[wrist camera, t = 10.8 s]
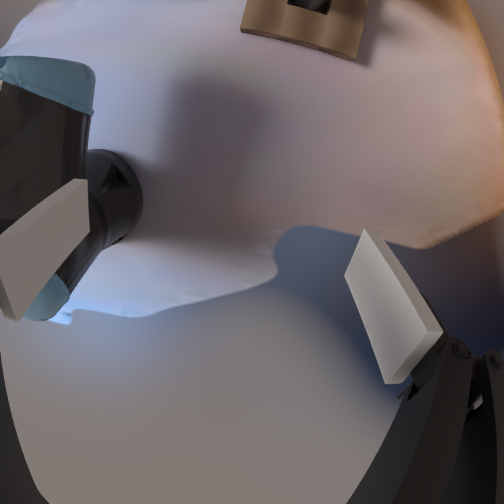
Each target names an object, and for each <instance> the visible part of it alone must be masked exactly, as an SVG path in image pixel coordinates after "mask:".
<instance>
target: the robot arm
mask: <svg viewBox="0 0 504 504" xmlns="http://www.w3.org/2000/svg"><path fill="white" fill-rule="evenodd" d="M95 82H96V79H95V74H94V72H93V70H92V69H91V68H90V67H89V66H87V65H85V64H82V63H79V62H74V61H69V60H63V59H56V58H48V57H37V56H5V57H1V56H0V308H1V310H2V312H3V315H4V317H6V318H8V319H11V320H13V321H16V322H19V320H20V319H21V318H22V317H23V318H26V319H29V320H32V321H46V320H48V319H50V318H53V317H54V316H55V315H56V314H57V312H58V311H59V310H60V309H61V308H62V306H63V305H64V304H65V303H67V302H68V300H69V298H70V297H69V296H70V294H71V293H72V291H73V290H74V288H75V287H76V286H77V284H78V283H79V281H80V280H81V278H82V277H83V275H84V274H85V273H86V271H87V270H88V268H89V267H90V266H91V264H92V263H93V261H94V260H95V259H96V257H97V256H98V255H99V253H100V252H101V251H102V250H104V249H106V248H108V247H110V246H111V245H114V244H116V243H118V242H120V241H122V240H123V239H124V238H125V237H127V236H128V234H129V233H130V232H131V231H132V229H133V228H134V227H135V225H136V224H137V222H138V220H139V218H140V215H141V211H142V192H141V188H140V184H139V182H138V179H137V177H136V175H135V174H134V172H133V170H132V169H131V168H130V166H129V165H128V164H127V163H126V162H125V161H124V160H123V159H121V158H120V157H119V156H117V155H115V154H113V153H111V152H109V151H105V150H100V149H92V150H87V149H88V138H89V130H90V123H91V116H93V113H94V111H93V109H92V108H93V98H94V89H95ZM344 276H345V278H346V281H347V283H348V285H349V288H350V291H351V293H352V295H353V298H354V300H355V303H356V305H357V308H358V310H359V313H360V316H361V318H362V321H363V323H364V326H365V329H366V331H367V334H368V337H369V339H370V342H371V344H372V347H373V350H374V353H375V356H376V359H377V361H378V364H379V367H380V370H381V373H382V376H383V379H384V382H385V384H395V383H402V382H403V381H404V379H405V378H406V377H407V376H408V375H409V374H410V373H411V376H412V378H413V381H412V382H411V383H410V384H409V385H408V386H407V387H406V388H405V390H403V391H402V393H401V394H399V396H398V397H397V398H398V399H400V398H401V397H402V396H403V395H404V398H403V400H402V402H401V404H400V407H399V409H398V411H397V413H396V416H395V418H394V420H393V422H392V424H391V427H390V429H389V431H388V433H387V435H386V437H385V439H384V441H383V443H382V445H381V447H380V449H379V451H378V452H377V454H376V456H375V458H374V460H373V461H372V463H371V465H370V467H369V469H368V470H367V472H366V474H365V475H364V477H363V479H362V480H361V482H360V484H359V485H358V487H357V488H356V490H355V491H354V493H353V494H352V496H351V497H350V499H349V500H348V502H347V504H504V360H503V358H502V356H501V355H499V353H498V352H496V351H494V350H491V349H489V350H487V351H486V352H485V353H484V354H483V355H482V357H481V358H479V357H476V356H473V355H472V352H471V350H470V348H469V347H468V346H467V344H465V343H464V342H463V341H462V340H460V339H458V338H455V337H451V338H450V336H449V335H448V333H447V331H446V329H445V328H444V326H443V324H442V323H441V321H440V320H439V318H438V316H437V315H435V314H436V313H435V311H434V309H433V308H431V305H430V303H429V302H428V300H427V298H426V297H425V296H424V295H423V294H422V293H421V292H420V291H419V290H418V289H417V288H416V286H415V284H414V283H413V281H412V280H411V278H410V277H409V275H408V274H407V273H406V271H405V270H404V268H403V267H402V265H401V264H400V262H399V261H398V260H397V258H396V257H395V255H394V254H393V252H392V251H391V249H390V248H389V247H388V245H387V244H386V243H385V241H384V240H383V238H382V237H381V236H380V234H379V233H378V232H377V231H373V230H368V229H364V230H363V232H362V235H361V237H360V240H359V242H358V245H357V247H356V249H355V252H354V254H353V256H352V259H351V261H350V263H349V266H348V268H347V270H346V273H345V275H344ZM481 397H482V400H483V403H482V404H481V405H480V406H479V407H478V408H477V409H474V404H475V403H476V402H477V401H478V400H479V399H480V398H481ZM0 504H49V503H48V502H47V501H46V500H45V498H44V497H43V496H42V495H41V494H40V492H39V491H38V489H37V487H36V485H35V483H34V481H33V478H32V476H31V474H30V471H29V468H28V466H27V463H26V461H25V458H24V455H23V452H22V449H21V446H20V443H19V440H18V436H17V433H16V429H15V426H14V423H13V419H12V415H11V410H10V406H9V402H8V397H7V393H6V387H5V381H4V376H3V370H2V363H1V354H0Z"/></svg>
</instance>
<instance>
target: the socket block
mask: <svg viewBox="0 0 504 504" xmlns="http://www.w3.org/2000/svg"><path fill="white" fill-rule="evenodd" d="M287 2H288V0H247V4H246V7H245V11H244V15H243V19H242V22H241V26H240V29H241V32H242V33H248V34H254V35H259V36H264V37H269V38H273V39H278V40H282V41H286V42H290V43H294V44H298V45H302V46H305V47H309V48H312V49H316V50H319V51H322V52H326V53H329V54H332V55H335V56H338V57H341V58H343V59H346V60H351V59H355V58H356V56H357V52H358V48H359V44H360V40H361V35H362V31H363V27H364V22H365V18H366V13H367V9H368V4H369V0H328V1H327V5H326V9H325V13H324V14H321V13H318V12H315V11H311V10H308V9H304V8H300V7H296V6H292V5H288V4H287Z"/></svg>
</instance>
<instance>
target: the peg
mask: <svg viewBox="0 0 504 504" xmlns="http://www.w3.org/2000/svg"><path fill="white" fill-rule="evenodd" d="M325 1H326V0H293V2H294V4H295V5H296V7H300V8H304V9H308V10H311V11H316V10H317V9H318V8H319V7H320V6H321V5H322V4H323V3H324V2H325Z"/></svg>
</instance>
